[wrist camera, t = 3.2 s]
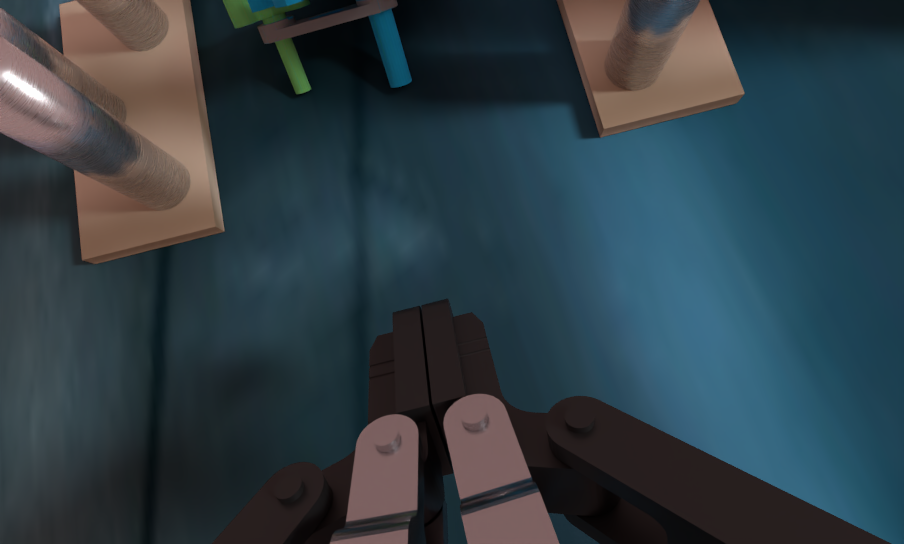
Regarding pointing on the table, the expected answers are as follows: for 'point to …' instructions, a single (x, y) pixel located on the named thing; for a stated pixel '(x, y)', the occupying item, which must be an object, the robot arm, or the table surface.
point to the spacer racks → (188, 136)
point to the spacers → (144, 27)
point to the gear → (270, 3)
